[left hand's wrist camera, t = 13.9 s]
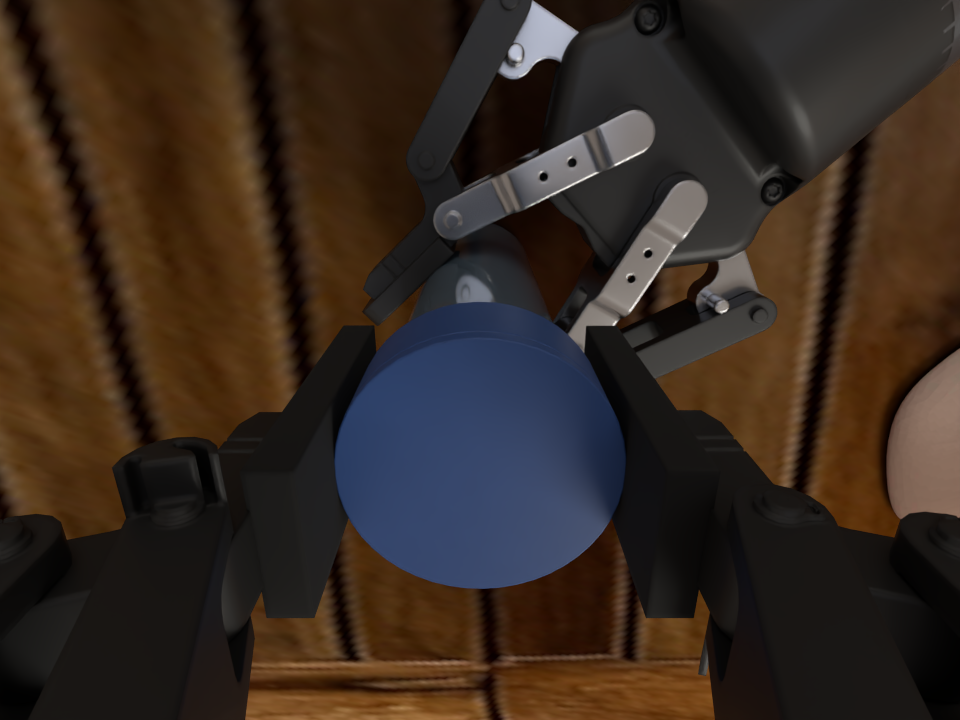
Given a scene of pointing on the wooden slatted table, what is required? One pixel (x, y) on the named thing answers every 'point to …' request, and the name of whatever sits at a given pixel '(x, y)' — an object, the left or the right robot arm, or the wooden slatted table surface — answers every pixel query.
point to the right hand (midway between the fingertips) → (426, 360)
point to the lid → (480, 448)
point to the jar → (483, 275)
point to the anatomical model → (927, 445)
